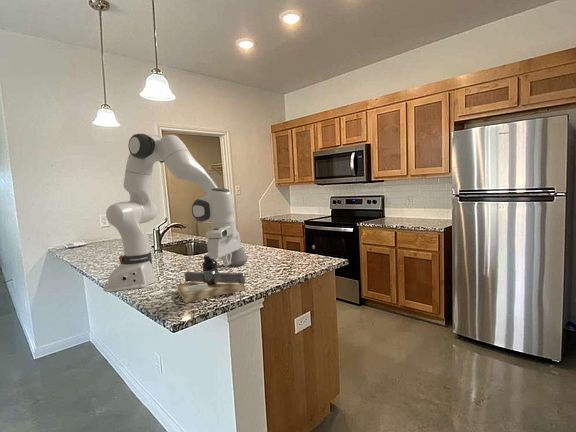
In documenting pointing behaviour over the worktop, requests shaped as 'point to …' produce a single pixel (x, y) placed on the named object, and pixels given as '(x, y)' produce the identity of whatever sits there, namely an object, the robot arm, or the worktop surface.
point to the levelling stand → (206, 290)
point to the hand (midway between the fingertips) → (227, 265)
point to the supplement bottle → (209, 264)
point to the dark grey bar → (214, 277)
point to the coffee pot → (238, 257)
